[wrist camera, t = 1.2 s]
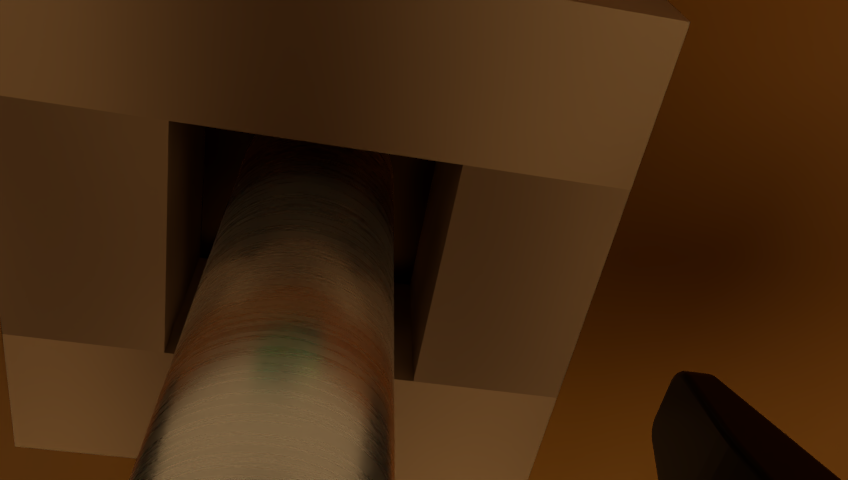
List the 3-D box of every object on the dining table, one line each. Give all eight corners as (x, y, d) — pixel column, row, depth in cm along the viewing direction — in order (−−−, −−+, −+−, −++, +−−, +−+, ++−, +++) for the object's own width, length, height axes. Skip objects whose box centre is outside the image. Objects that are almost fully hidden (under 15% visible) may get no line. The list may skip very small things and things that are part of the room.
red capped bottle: (435, 101, 12) (502, 659, 5) (400, 273, 14) (411, 889, 6) (222, 67, 12) (-66, 618, 4) (212, 248, 14) (-8, 872, 6)
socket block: (635, -31, 11) (690, 22, 9) (503, 392, 15) (521, 496, 13) (42, -140, 10) (-48, -110, 8) (70, 342, 14) (14, 446, 12)
